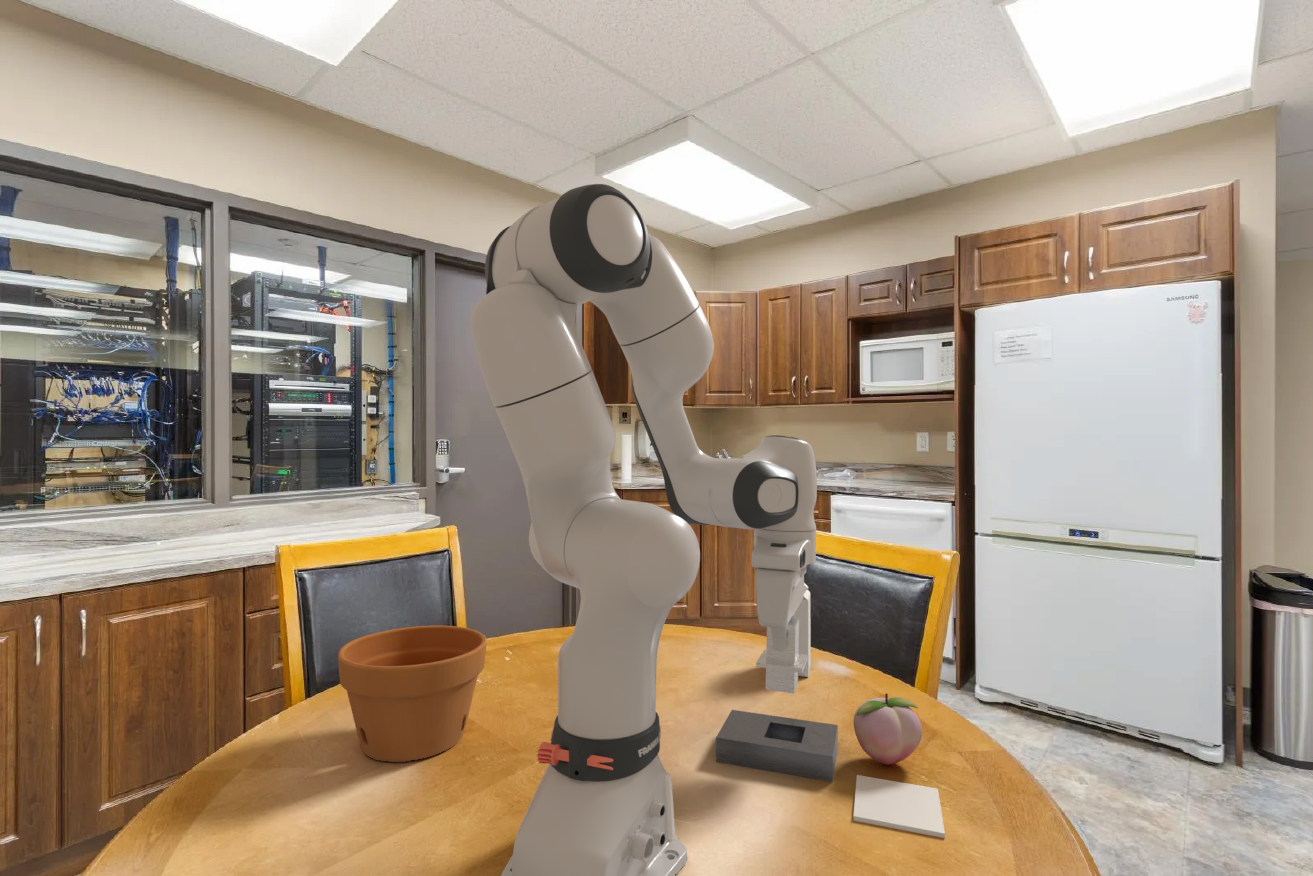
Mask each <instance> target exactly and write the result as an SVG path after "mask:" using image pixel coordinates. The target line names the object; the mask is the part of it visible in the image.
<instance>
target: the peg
mask: <svg viewBox="0 0 1313 876" xmlns="http://www.w3.org/2000/svg"><path fill="white" fill-rule="evenodd" d="M786 636H787V647H786V649H785V651H775V650H774V649H773V648H772V644H773V637H772V632H771V628H770V627H766V644H765V645H766V647H765V648H766V649H764V650H763V651H762V653H761V654H760V656H759V657H758V659H757V660H756V663H755V664H756V665H755V667H757V668H763V669H765V690H767V691H773V692H780V693H788V694H794V695H795V693H796V690H797V687H798V685H799V676H798V673H802V672H803V670H804V667H805V665H806V662H807V660H808V655H801V654H798V649H799V619H797V618H791V620H790V621H789V623H788V625H787V630H786Z"/></svg>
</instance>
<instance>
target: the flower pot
mask: <svg viewBox="0 0 1313 876" xmlns="http://www.w3.org/2000/svg"><path fill="white" fill-rule="evenodd" d="M486 651H487V637H486V635H485V634H483V633H482V632H480V631H478V630H477V629H472V628H469V627H464V626H454V625H437V624H436V625H435V624H434V625H418V626H417V625H414V626H406V627H399V628H392V629H388V630H383V631H378V632H375V633H371V634H368V635H364V636H360V637H358V638H355V639H353V640H351V641H348V642H347V643H345V644H344V645H343V646H342V647H340V649H339V650H338V652H337V653H338V655H337V659H338V661H337V662H338V674H339V684H340V686H341V688H343V689H344V690H345V691H346V692H347V693H346V694H347V696H348V702H349V705H350V708H351V714H352V718H353V722H354V726H355V730H356V733H357V737H358V741H359V744H360V748H361V750H362V753H363V754H364V755H366V756H367V755H368V756H369V757H368V756H367V757H368V758H370V757H371V758H370V759H372V758H373V760H375V759H376V761H379V760H381V761H380V762H385V761H388V762H389V763H404V762H406V761H407V762H412V761H411V760H415V761H419V760H418V759H420V760H424V759H427V757H428V758H430V756H431V757H434V756H436V754H437V755H439V753H440V754H442V753H443V751H444V752H445V751H448V750H450V749H451V748H454V746H455V745H457V743H458V742H460V740H461V739H462V738H463V735H464V733H465V729H466V727H467V722H468V719H469V715H470V710H471V705H472V700H473V697H474V693H475V688H476V685H477V680H478V677H479V675H480V674H481V673H482V671H483V670H484V668H485V663H486V654H487V652H486ZM449 748H450V749H449ZM441 752H442V753H441ZM433 755H434V756H433ZM423 758H424V759H423ZM388 762H387V763H388Z"/></svg>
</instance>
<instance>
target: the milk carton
mask: <svg viewBox="0 0 1313 876" xmlns="http://www.w3.org/2000/svg"><path fill="white" fill-rule="evenodd" d="M794 618H797V619H799V649H798V654H801V655H808V660H807V662H806V665H805V667H804V670H803V672H802V673H798V677H805V678H808V677H809V676H810V670H811V666H810V665H811V661H812V659H811V657H812V656H811V651H812V650H811V641H812V639H811V637H812V636H811V631H812V630H811V629H812V628H811V592H810V590H809V586H808V585H807V584H806V583H805V582H804V596H803V600H802V601H801V603H800V605H799V606H798V608H797V610H796V611H795V614H794Z"/></svg>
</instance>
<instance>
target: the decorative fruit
mask: <svg viewBox="0 0 1313 876" xmlns="http://www.w3.org/2000/svg"><path fill="white" fill-rule="evenodd" d="M888 695H889V694H888V693H884V697H876V698H875V697H874V698H871V699H868V700H866V701H864V702H863V703H861V704H860V705H859V706H858V707H857V709H856V711H855V713H854V716H853V728H854V729H853V731H854V733H855V734H854V735H855V736H856V738H857V741H858V743H859V745H860V747H861V748H862V751H863V752H864V753H865V754H866V755H868V756H869V757H870V758H871V759H873V760H875V761H877V762H878V763H880V764H882V765H885V766H889V765H894V764H897V763H899V762H903V761H904V760H906V759H907V758H908V757H909V756H911V755H912V754H913V752H915V750H916V749H917V747H918V746H919V744H920V743H921V740H922V737H923V729H922V728H923V727H922V723H921V721H920V718H919V717H918V715H917V714H916V712H914V710H913V709H912V708H914V709H919V707H918V706H917V705H916V704H915V703H914V702H913V701H911V700H909V699H907V698H904V697H899V696H898V697H897V696H896V697H891V698H888V697H889V696H888Z"/></svg>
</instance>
